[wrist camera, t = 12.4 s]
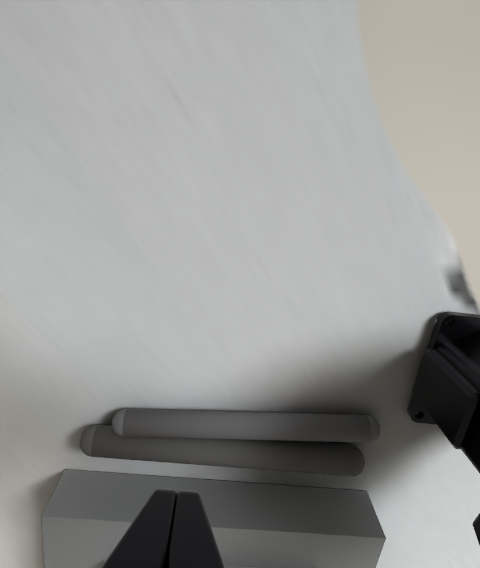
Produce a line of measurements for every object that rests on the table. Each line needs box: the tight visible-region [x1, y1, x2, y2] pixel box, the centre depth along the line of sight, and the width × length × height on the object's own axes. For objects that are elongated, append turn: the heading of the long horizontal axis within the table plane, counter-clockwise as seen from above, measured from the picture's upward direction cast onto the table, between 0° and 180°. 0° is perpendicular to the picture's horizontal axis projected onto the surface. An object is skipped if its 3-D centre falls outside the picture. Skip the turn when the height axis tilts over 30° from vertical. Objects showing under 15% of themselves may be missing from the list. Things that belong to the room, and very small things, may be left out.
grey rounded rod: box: [80, 425, 365, 476], centre depth 21 cm, size 16×2×2 cm, turn 83°
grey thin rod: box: [112, 409, 380, 442], centre depth 21 cm, size 14×1×1 cm, turn 87°
